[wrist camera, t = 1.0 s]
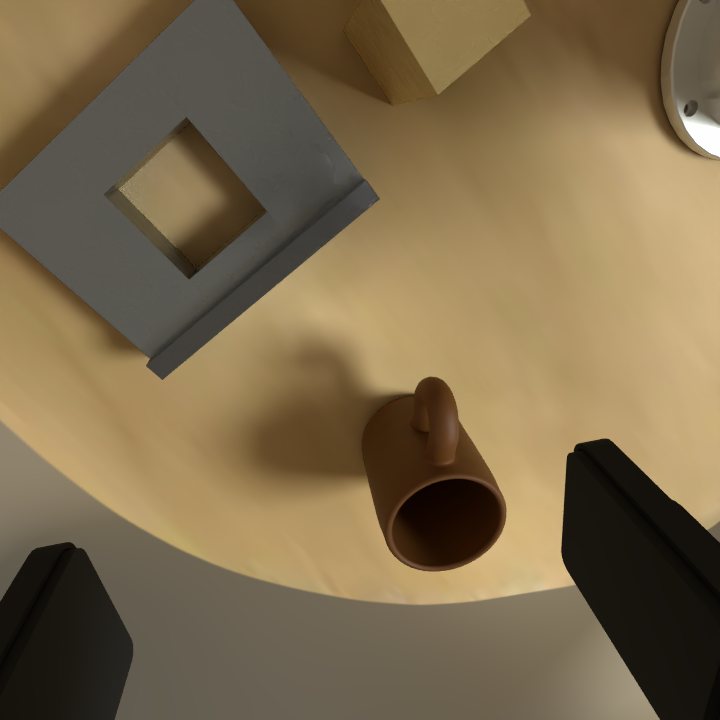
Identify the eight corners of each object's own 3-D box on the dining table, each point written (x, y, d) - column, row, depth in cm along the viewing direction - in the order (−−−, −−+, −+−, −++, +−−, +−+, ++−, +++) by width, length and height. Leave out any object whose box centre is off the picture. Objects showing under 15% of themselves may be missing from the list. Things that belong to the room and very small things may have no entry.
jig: (223, -8, 24) (214, -29, 21) (369, 191, 29) (379, 198, 26) (5, 204, 27) (-31, 214, 24) (174, 355, 32) (162, 379, 29)
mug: (352, 341, 33) (376, 413, 25) (461, 329, 34) (521, 395, 26) (362, 483, 38) (384, 583, 30) (457, 470, 39) (505, 564, 31)
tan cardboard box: (410, -32, 25) (471, -108, 17) (456, 50, 27) (531, 15, 19) (343, 30, 26) (371, -16, 18) (392, 105, 28) (438, 94, 20)
